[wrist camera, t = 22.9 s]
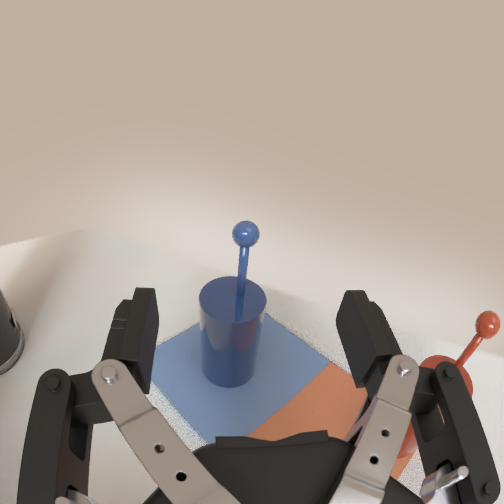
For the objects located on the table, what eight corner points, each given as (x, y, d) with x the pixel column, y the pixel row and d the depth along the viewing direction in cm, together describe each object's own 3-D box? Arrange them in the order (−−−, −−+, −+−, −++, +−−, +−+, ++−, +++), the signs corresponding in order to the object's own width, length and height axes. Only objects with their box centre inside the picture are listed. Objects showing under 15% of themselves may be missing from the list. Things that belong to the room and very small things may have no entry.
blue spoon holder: (227, 398, 29) (236, 260, 19) (190, 363, 32) (182, 223, 22) (266, 367, 32) (293, 230, 23) (229, 337, 35) (238, 201, 26)
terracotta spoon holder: (402, 468, 22) (517, 367, 13) (360, 439, 25) (451, 323, 16) (426, 429, 26) (524, 319, 16) (387, 403, 29) (468, 283, 19)
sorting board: (337, 550, 17) (340, 550, 16) (137, 361, 32) (136, 357, 31) (424, 431, 26) (428, 428, 26) (243, 301, 42) (244, 296, 41)
